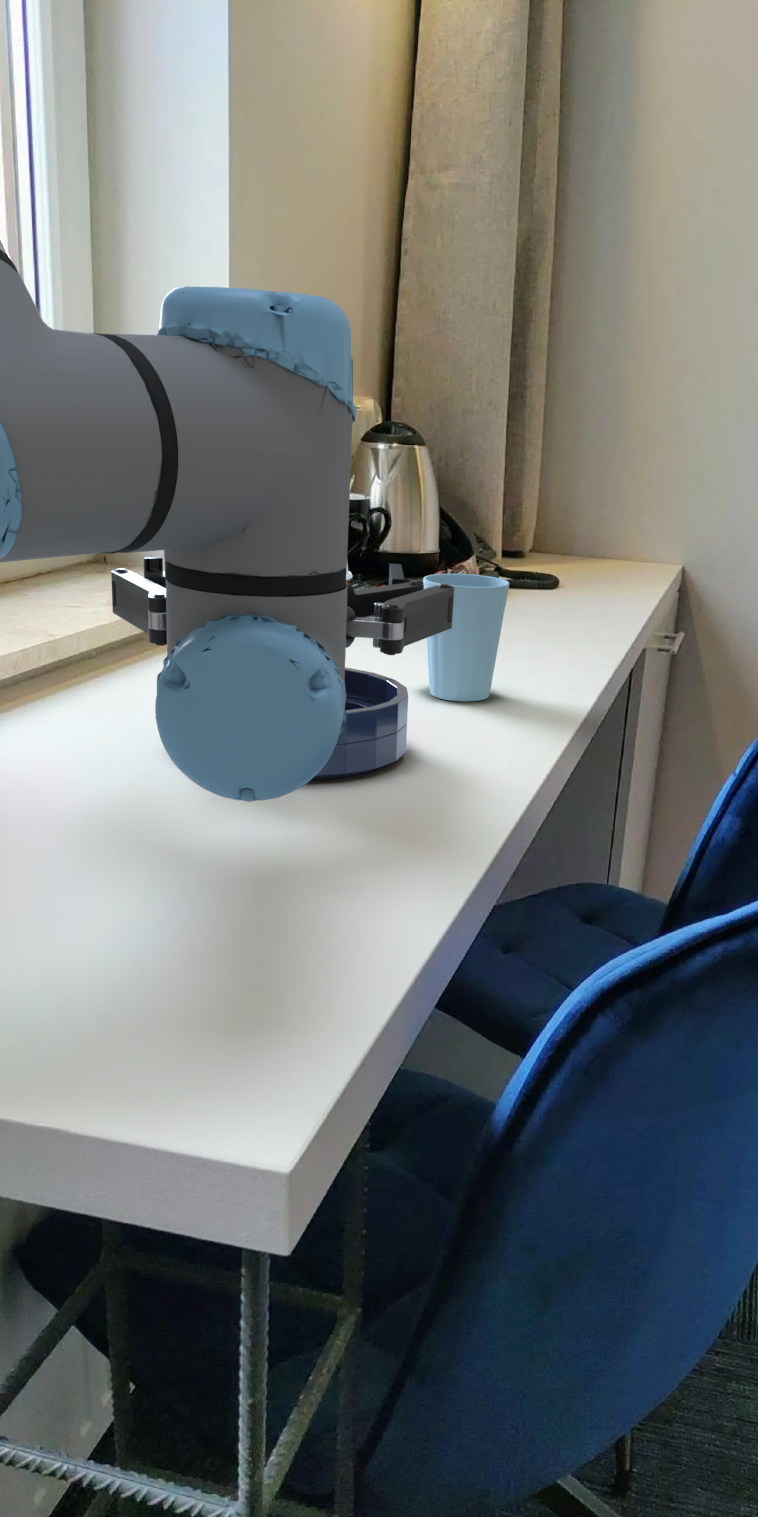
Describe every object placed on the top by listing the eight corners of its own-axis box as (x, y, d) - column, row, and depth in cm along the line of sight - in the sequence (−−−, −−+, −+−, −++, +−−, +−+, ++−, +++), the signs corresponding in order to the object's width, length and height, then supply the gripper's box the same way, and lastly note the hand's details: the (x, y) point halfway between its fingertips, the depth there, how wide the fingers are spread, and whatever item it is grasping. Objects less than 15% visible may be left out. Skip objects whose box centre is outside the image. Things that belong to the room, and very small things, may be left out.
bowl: (170, 779, 90) (168, 709, 88) (197, 720, 105) (197, 659, 103) (408, 787, 91) (411, 718, 89) (401, 727, 106) (404, 667, 104)
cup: (416, 702, 115) (423, 583, 111) (417, 683, 122) (423, 571, 118) (502, 707, 115) (511, 588, 111) (497, 687, 122) (506, 576, 118)
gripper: (20, 707, 65) (98, 628, 85) (511, 727, 67) (476, 645, 87) (11, 555, 62) (93, 509, 82) (523, 581, 64) (484, 530, 84)
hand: (290, 579), depth 84 cm, fingers open, 13 cm apart
